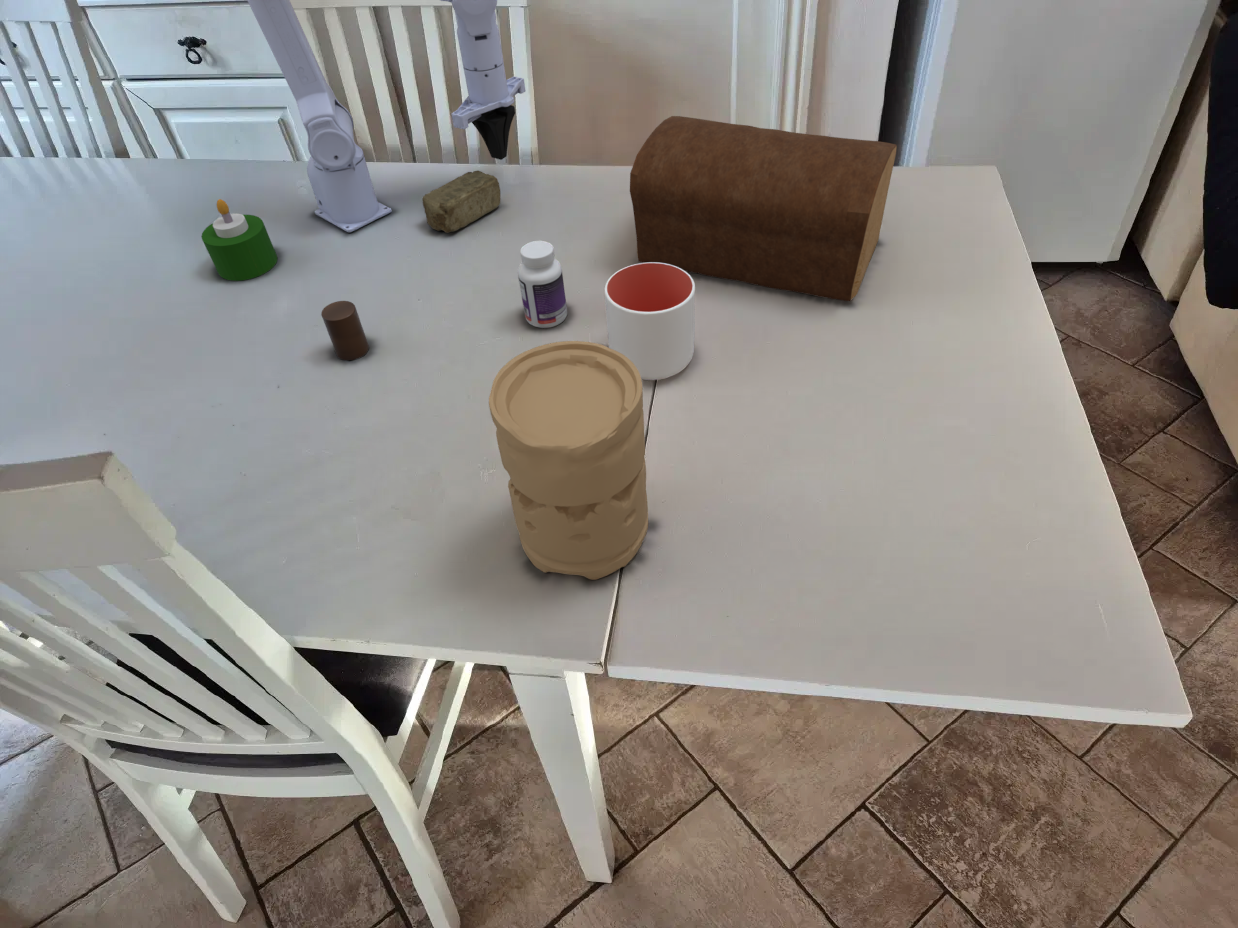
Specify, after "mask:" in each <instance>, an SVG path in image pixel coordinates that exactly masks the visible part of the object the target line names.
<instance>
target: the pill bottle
mask: <svg viewBox="0 0 1238 928" xmlns="http://www.w3.org/2000/svg"><path fill="white" fill-rule="evenodd" d="M519 251H520V258H521V263H520V264H519V266H518V267H517V278H518V282H519V289H520V295H521V300H522V306H523V311H524V317H525V321H526V322H527V323H528V324H529V325H531V326H533V327H536V328H541V329H543V328H544V329H546V328H552V327H553V328H554V327H556V326H558V325H560V324H562V322H564V321H565V320H566V318H567V315H568V306H567V299H566V290H565V285H564V284H565V283H564V276H563V268H562V267H563V266H562V264H561V263H560V261H559V260H558V259H556V258H555V257H556V255H555V247H554V245H553V244H552V243H550V242H549V241H546V240H534V241H533V240H532V241H530V242H527V243H525V244H524V245H523V246H522V247H521V248H520V250H519Z"/></svg>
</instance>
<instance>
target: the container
mask: <svg viewBox="0 0 1238 928" xmlns="http://www.w3.org/2000/svg"><path fill="white" fill-rule="evenodd" d="M642 381H643V380H642V379H641V376H640V374H639V371H638V369H637V368H636V366H635V365H634V364H633V362H632V361H631V360H629V359H628V358H627V357H626V356H625V355H623V354H621V353H619V352H617V351H615V350H613V349H610V348H609V346H606V345H604V344H601V343H598V342H597V343H596V342H591V341H583V340H582V341H581V340H565V341H556V342H551V343H550V342H549V343H545V344H542V345H538V346H535V347H532V348H529V349H527V350H525V351H523V352H521V353H519V354H517V355H516V356H514V357H513V358H511V359H510V360H509V361H508V362H507V363H506V364H504V365H503V366H502V367H501V368H500V370H498V372H497V374H496V375H495V377H494V378H493V381H492V385H491V389H490V393H489V396H488V408H489V412H490V417H491V420H492V422H493V424H494V426H495V428H496V429H495V430H496V431H495V436H496V441H497V447H498V451H499V457H500V461H501V464H502V467H503V469H504V470H505V471H506V472H507V474H508V476H509V478H510V479H509V480H508V482H507V488H508V492H509V496H510V501H511V508H512V512H513V517H514V521H515V526H516V529H517V532H518V534H519V535H518V536H519V541H520V543H521V547H522V549H523V551H524V554H525V555H526V556H527V558H528V559H529V561H530V562H531V564H532V565H533V566H534V567H535V568H536V569H537V570H540V571H541V572H543V573H549V572H550V573H557V574H558V573H559V574H563V575H573V576H580V577H581V576H582V577H584V578H586V579H588V580H595V581H596V580H599V579H602V578H605V577H606V576H609V575H611V574H613V573H615V572H617V571H618V570H619V569H621V568H623V567H626V566H627V565H628V564H629V563H630V561H632V560H633V558H634V557H635V556H636V554H637V553H638V552H639V549H641V547H642V544H643V541H644V540H645V538H646V535H647V533H648V529H649V507H648V495H647V466H646V458H645V456H646V440H645V439H646V438H645V417H644V415H645V414H644V399H643V398H644V395H643V382H642Z"/></svg>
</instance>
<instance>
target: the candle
mask: <svg viewBox="0 0 1238 928" xmlns="http://www.w3.org/2000/svg"><path fill="white" fill-rule="evenodd" d="M216 209H217V212H218V213H219V214H220V215H221V216H219V217H218V218H216V219H215V220H214V221H212V223H210V224H209V225H208V226H207V227H206V228H205V229H204V230H203V231H202V233H201V240H202V242H203V245H204V246H205V249H206V250H207V253H208V255H209V257H210V259H211V261H212V263H213V265H214V267H215V269H216V272H217V274H218V276H220V277H221V278H222V279H224V280H227V281H234V282H240V281H248V280H251V279H252V280H253V279H255V278H258V277H260V276H262V275H264V274H266V273H268V272H269V271H270V270H272V269H273V268H274V267H275V265H276V264H277V263H278V255H277V253H276V250H275V247H274V245H273V242H272V239H271V237H270V235H269V233H268V231H267V228H266V225H265V222H264V221H263V219H262V218H260V217H259V216H257V215H254V214H242V213H236V212H235V213H230V207H229V205H228V203H227V202H226V201H224V200H223V199H221V198H219V199H218V200H217V201H216Z"/></svg>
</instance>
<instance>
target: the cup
mask: <svg viewBox="0 0 1238 928" xmlns="http://www.w3.org/2000/svg"><path fill="white" fill-rule="evenodd" d="M603 290H604V301H605V302H604V303H605V315H606V316H605V317H606V330H607V341H608V342H607V343H608V348H610V349H613V350H615V351H617V352H619V353H621V354H623V355H625V356H626V357H627V358H628V359H629V360H631V361H632V362H633V364H634V365H635V366H636V368H637V369H638V371H639V374H640V376H641V381H658V380H659V381H660V380H664V379H668V378H671V377H673V376H675V375H677V374H679V373H680V372H682V371H683V370H684V369H685V368H686V367H688V365H689V364H690V363H691V361H692V360H693V356H694V352H695V326H696V325H695V323H696V321H695V320H696V319H695V318H696V317H695V316H696V283H695V280H694V279H693V277H692V275H690V274H689V273H688V271H684V270H682V269H681V268H679V267H676V266H673V265H670V264H665V263H657V262H647V263H643V262H639V263H634V264H631V265H628V266H625V267H623V268H621V269H619V270H617V271H615V272H614V273H613V274H612V275H611V276H609V278H608V279H607V281H606V282H605V284H604V289H603Z"/></svg>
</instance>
